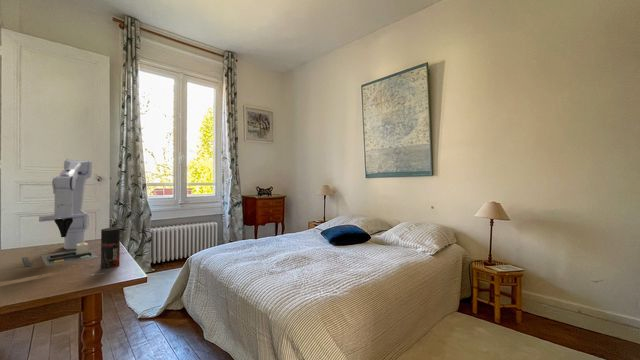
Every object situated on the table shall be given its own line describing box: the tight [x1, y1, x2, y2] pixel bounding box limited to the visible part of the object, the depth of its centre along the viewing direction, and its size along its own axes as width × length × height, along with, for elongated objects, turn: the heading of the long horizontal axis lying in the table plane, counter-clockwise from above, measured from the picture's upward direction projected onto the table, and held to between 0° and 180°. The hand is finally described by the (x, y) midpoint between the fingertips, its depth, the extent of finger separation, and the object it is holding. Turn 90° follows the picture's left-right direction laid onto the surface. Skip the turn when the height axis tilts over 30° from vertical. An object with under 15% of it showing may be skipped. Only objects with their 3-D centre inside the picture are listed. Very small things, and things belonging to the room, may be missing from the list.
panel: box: [40, 247, 99, 267], centre depth 117 cm, size 20×16×2 cm
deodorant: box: [100, 227, 121, 270], centre depth 109 cm, size 6×6×15 cm
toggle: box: [75, 242, 89, 255], centre depth 120 cm, size 4×4×5 cm
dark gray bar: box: [22, 256, 32, 268], centre depth 108 cm, size 16×1×1 cm, turn 50°
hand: (63, 236), depth 115 cm, fingers closed
